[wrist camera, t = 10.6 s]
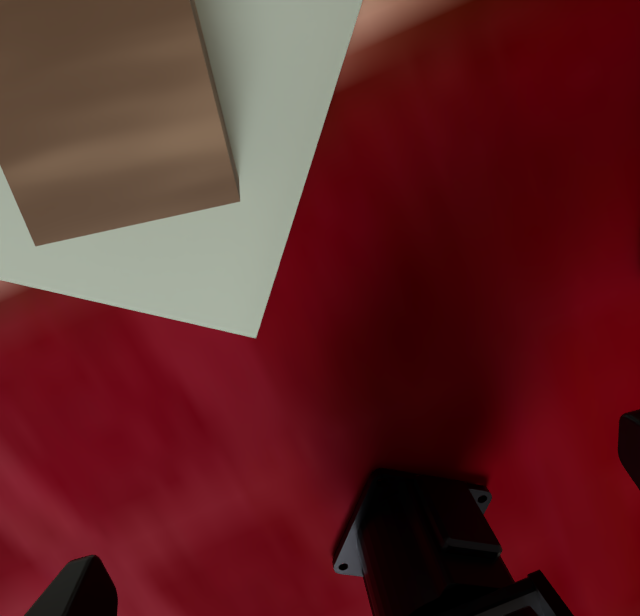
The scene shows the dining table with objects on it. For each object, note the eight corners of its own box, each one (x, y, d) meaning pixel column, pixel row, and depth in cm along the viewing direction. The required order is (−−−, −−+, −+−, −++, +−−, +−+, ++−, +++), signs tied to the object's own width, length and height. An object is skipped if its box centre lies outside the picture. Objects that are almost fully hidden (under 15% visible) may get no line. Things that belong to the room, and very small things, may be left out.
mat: (255, 333, 22) (255, 338, 21) (-177, 234, 18) (-186, 237, 18) (410, -159, 16) (414, -165, 16) (-177, -461, 12) (-190, -478, 12)
